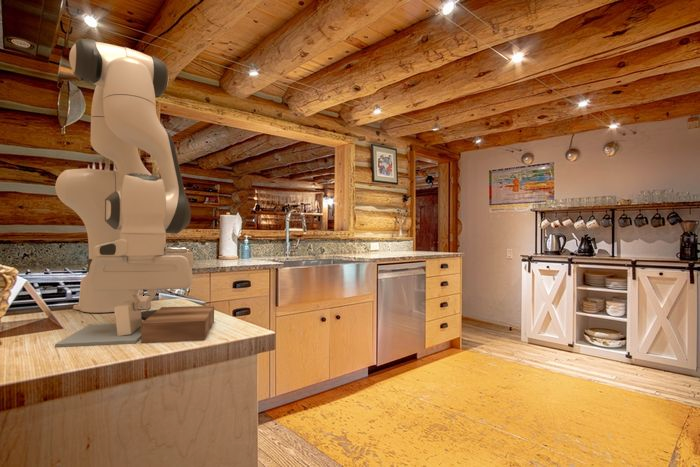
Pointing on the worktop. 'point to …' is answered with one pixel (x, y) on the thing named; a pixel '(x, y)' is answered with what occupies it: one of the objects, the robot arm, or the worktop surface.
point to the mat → (99, 336)
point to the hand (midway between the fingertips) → (142, 309)
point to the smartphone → (147, 314)
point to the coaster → (127, 318)
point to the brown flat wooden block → (178, 324)
